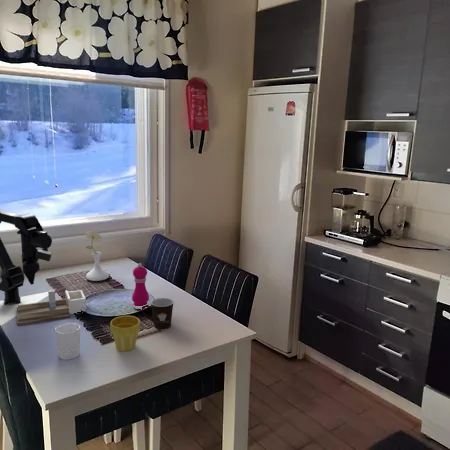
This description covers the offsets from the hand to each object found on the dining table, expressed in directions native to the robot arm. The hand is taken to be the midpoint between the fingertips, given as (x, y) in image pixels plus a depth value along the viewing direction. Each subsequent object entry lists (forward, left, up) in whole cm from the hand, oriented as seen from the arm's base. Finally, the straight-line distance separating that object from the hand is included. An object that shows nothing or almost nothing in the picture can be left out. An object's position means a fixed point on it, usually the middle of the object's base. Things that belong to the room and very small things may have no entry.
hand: (31, 280), depth 187 cm
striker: (+8, +7, -11) cm, 15 cm away
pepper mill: (+18, +42, -12) cm, 47 cm away
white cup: (+48, +9, -12) cm, 50 cm away
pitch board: (+8, +3, -12) cm, 15 cm away
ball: (+8, +15, -10) cm, 20 cm away
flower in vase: (-26, +31, -12) cm, 42 cm away
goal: (+8, +16, -12) cm, 22 cm away
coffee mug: (+38, +44, -12) cm, 59 cm away
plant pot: (+50, +28, -12) cm, 59 cm away
